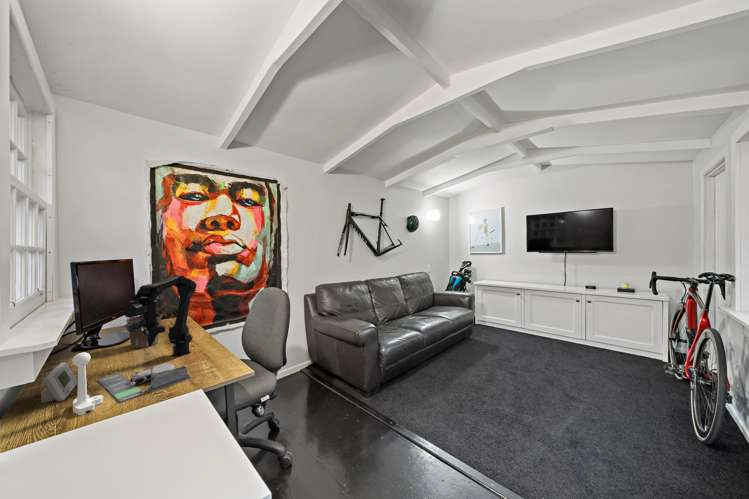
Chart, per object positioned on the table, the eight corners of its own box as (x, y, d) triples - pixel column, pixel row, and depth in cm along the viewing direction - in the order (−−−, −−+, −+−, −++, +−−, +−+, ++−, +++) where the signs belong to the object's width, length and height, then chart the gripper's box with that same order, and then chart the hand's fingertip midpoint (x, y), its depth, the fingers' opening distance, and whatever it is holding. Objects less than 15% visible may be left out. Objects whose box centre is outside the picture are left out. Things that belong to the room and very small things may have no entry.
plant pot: (168, 342, 164) (168, 316, 164) (136, 352, 150) (135, 322, 149) (152, 338, 171) (152, 313, 171) (120, 347, 156) (120, 319, 156)
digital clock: (63, 402, 101) (62, 374, 101) (28, 408, 98) (28, 379, 97) (87, 382, 116) (87, 358, 116) (58, 387, 112) (57, 361, 112)
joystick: (70, 405, 99) (70, 351, 99) (100, 396, 105) (99, 345, 105) (75, 417, 92) (74, 358, 92) (106, 406, 99) (105, 351, 98)
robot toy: (130, 392, 110) (175, 378, 119) (128, 381, 110) (174, 368, 119) (132, 380, 120) (174, 368, 129) (131, 370, 119) (173, 359, 129)
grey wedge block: (186, 376, 122) (186, 364, 122) (190, 378, 120) (190, 367, 120) (147, 389, 110) (147, 377, 110) (151, 392, 108) (151, 380, 108)
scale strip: (119, 374, 124) (119, 372, 124) (144, 394, 107) (144, 392, 107) (97, 380, 118) (97, 379, 118) (120, 403, 101) (120, 401, 101)
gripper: (120, 313, 125) (120, 346, 125) (134, 318, 115) (134, 355, 115) (150, 308, 134) (150, 340, 134) (165, 313, 124) (166, 347, 124)
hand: (149, 345), depth 127 cm, fingers closed
